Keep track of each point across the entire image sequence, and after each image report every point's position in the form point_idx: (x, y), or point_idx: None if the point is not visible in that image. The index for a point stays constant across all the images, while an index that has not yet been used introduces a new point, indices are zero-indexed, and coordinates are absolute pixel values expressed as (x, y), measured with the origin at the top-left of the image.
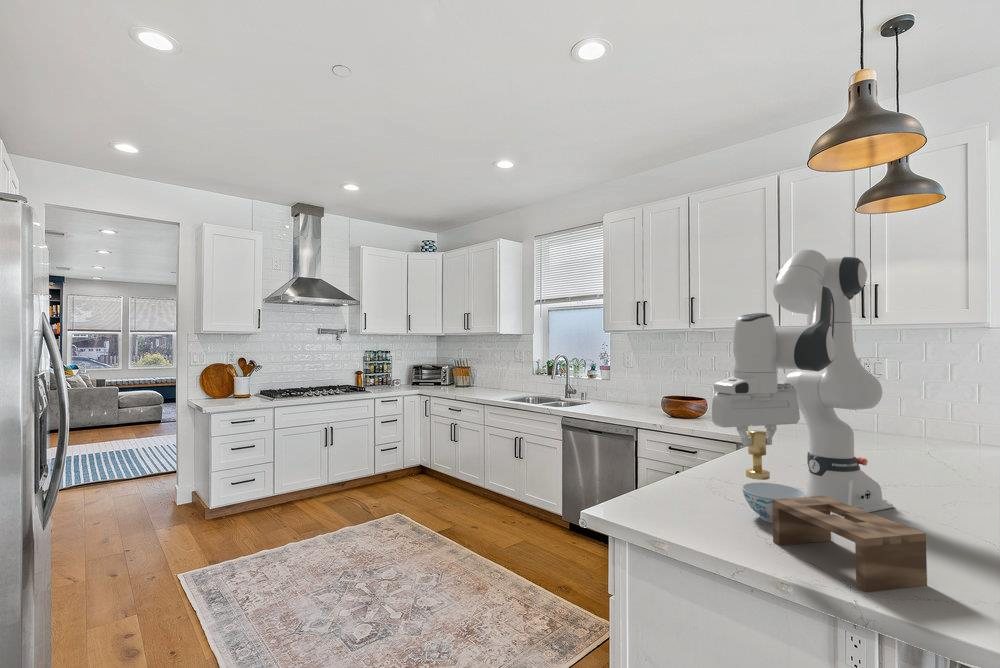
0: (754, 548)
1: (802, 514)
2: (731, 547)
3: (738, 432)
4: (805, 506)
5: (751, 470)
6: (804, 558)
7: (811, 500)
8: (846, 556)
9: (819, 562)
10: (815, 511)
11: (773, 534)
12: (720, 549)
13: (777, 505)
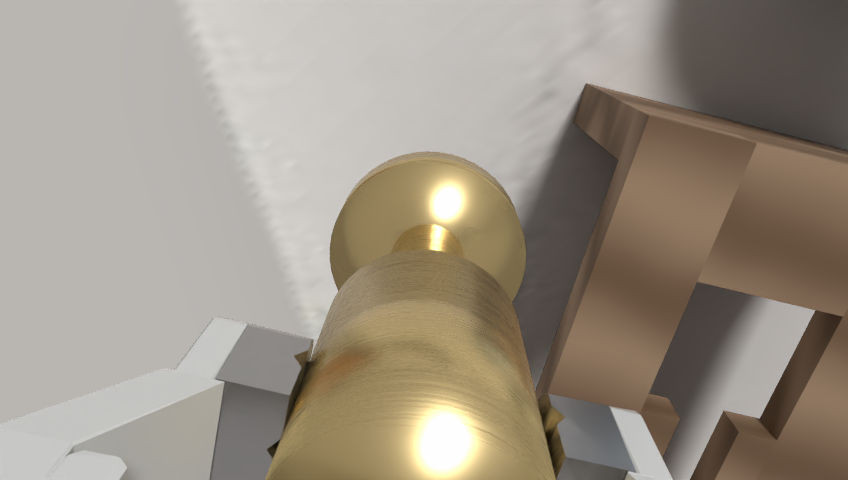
0: (441, 97)
1: (564, 334)
2: (354, 42)
3: (55, 415)
4: (684, 289)
5: (406, 213)
6: (536, 250)
7: (839, 237)
8: (698, 304)
9: (551, 293)
10: (642, 359)
11: (592, 92)
12: (289, 36)
13: (625, 156)
